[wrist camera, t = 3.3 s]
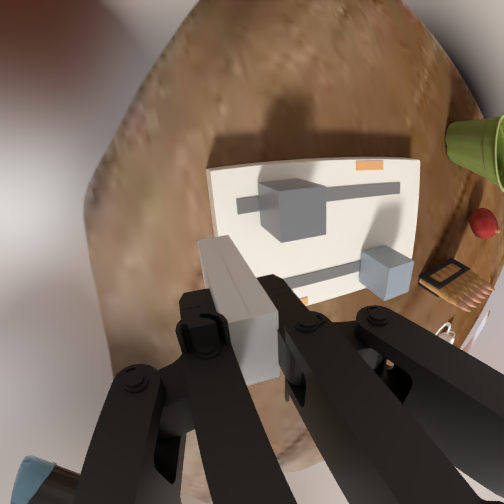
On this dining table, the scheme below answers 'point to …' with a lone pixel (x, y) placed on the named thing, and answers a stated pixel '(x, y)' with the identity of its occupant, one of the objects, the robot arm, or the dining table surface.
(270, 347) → the robot arm
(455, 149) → the plant pot
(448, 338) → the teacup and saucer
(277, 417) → the dining table surface
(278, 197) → the tab front
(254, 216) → the switch panel
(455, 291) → the ammunition clip
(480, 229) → the onion
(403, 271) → the tab back
